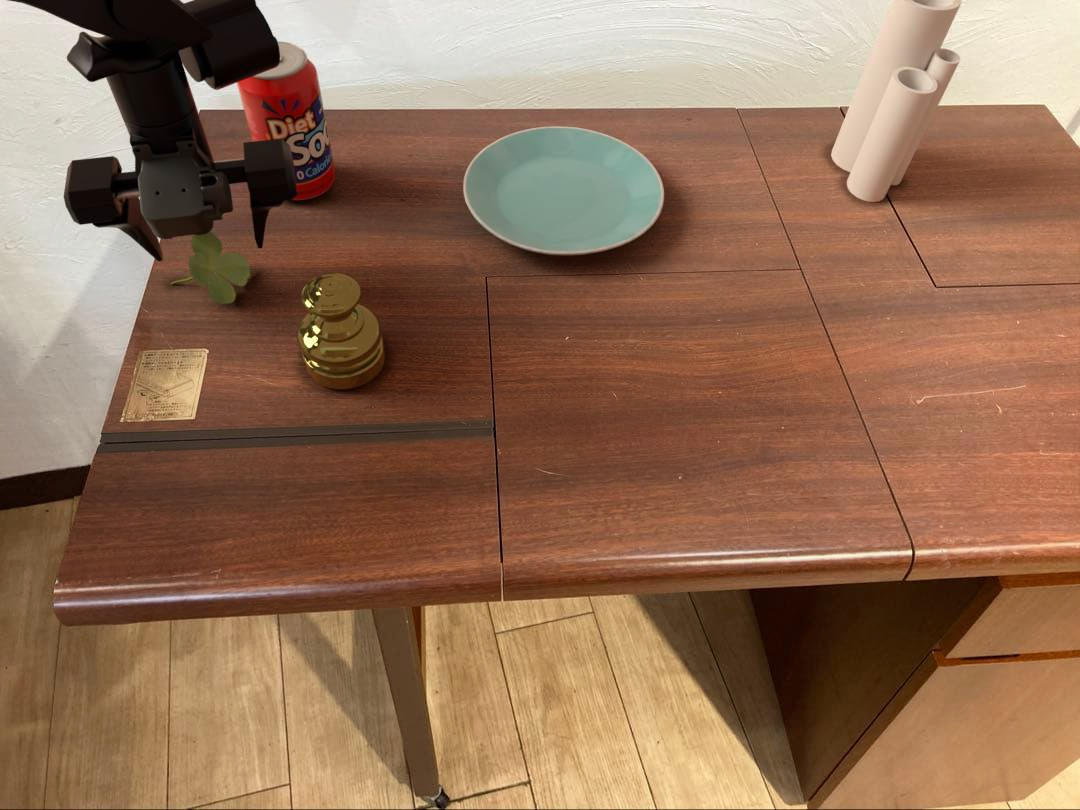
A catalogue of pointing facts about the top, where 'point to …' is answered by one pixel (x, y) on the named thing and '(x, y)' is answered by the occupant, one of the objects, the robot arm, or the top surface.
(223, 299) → the green clover leaf
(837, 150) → the vase
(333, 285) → the brass weight
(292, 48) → the soda can
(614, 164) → the plate
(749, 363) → the top surface
